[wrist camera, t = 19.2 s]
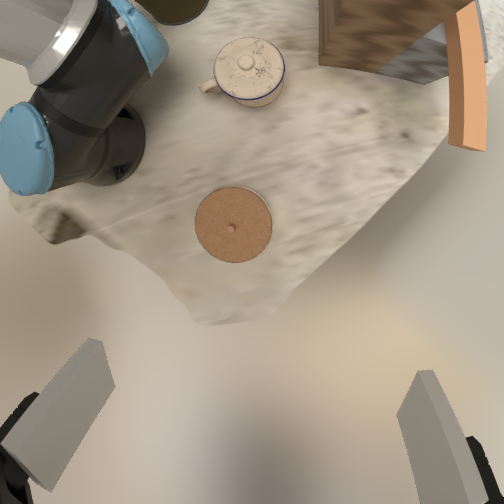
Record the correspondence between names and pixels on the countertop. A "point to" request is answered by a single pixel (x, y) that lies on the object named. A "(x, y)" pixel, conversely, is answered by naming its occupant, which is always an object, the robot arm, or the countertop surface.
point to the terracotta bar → (466, 80)
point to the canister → (174, 10)
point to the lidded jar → (233, 224)
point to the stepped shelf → (389, 36)
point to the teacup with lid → (248, 72)
